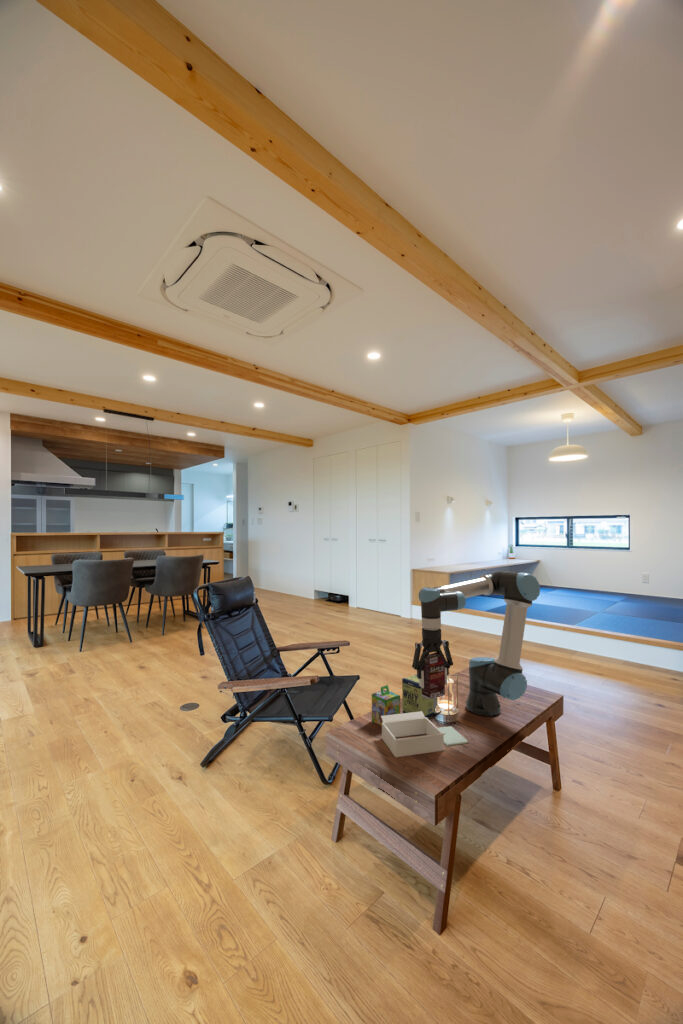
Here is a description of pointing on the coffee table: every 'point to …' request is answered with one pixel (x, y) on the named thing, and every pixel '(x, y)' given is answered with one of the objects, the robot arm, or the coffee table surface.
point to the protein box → (416, 697)
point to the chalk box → (384, 704)
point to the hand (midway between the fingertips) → (433, 685)
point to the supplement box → (433, 676)
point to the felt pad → (452, 736)
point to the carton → (411, 726)
